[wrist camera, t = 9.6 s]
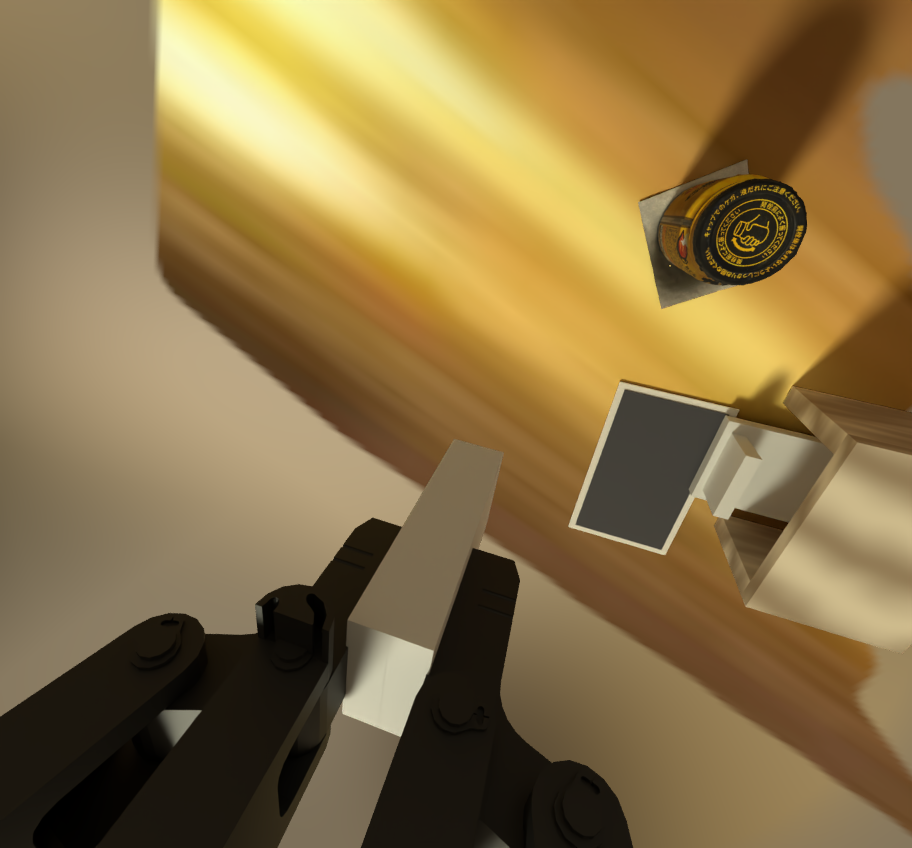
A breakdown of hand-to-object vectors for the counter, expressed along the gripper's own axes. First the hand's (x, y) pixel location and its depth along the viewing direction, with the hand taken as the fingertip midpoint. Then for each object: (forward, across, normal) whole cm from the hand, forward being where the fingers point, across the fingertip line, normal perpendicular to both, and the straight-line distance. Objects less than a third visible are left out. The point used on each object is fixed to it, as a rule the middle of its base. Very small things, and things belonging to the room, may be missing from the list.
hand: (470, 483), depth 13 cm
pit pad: (+29, +13, -14) cm, 35 cm away
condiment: (+30, +10, +7) cm, 32 cm away
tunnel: (+29, +26, -10) cm, 41 cm away
